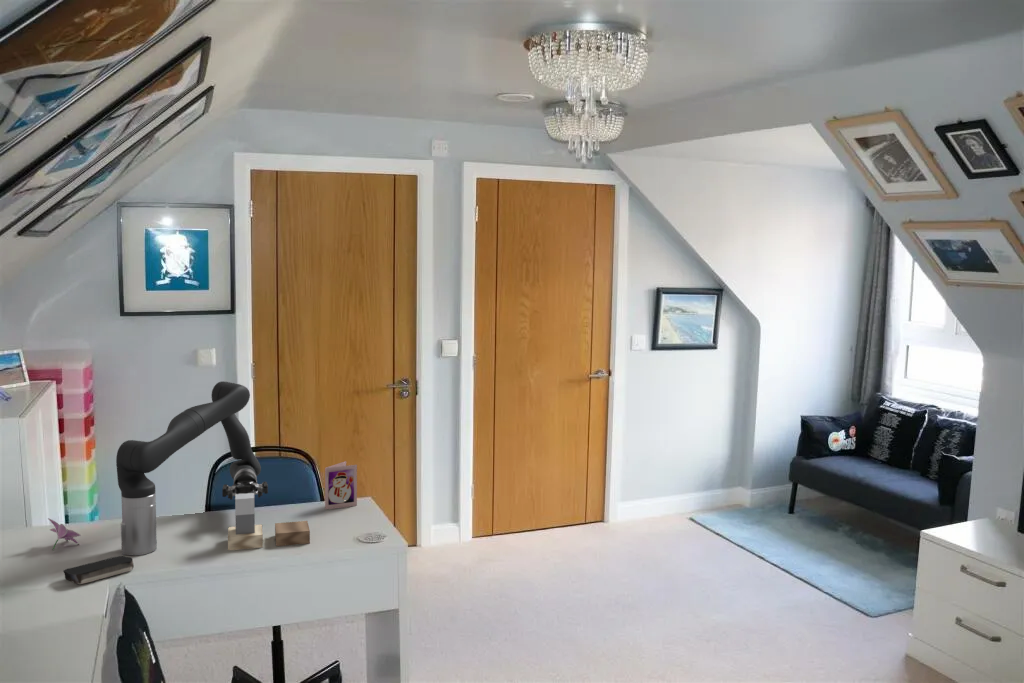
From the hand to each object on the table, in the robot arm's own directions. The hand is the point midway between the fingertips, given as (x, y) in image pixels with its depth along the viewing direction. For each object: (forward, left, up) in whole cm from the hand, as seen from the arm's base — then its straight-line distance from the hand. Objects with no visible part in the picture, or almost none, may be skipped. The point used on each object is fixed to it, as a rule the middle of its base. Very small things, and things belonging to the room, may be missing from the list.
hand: (245, 495), depth 259 cm
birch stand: (0, -12, -12) cm, 17 cm away
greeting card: (+32, +20, -12) cm, 39 cm away
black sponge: (-38, -28, -12) cm, 49 cm away
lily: (-52, -1, -12) cm, 53 cm away
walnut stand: (+14, -12, -12) cm, 22 cm away
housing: (0, -12, -8) cm, 15 cm away
